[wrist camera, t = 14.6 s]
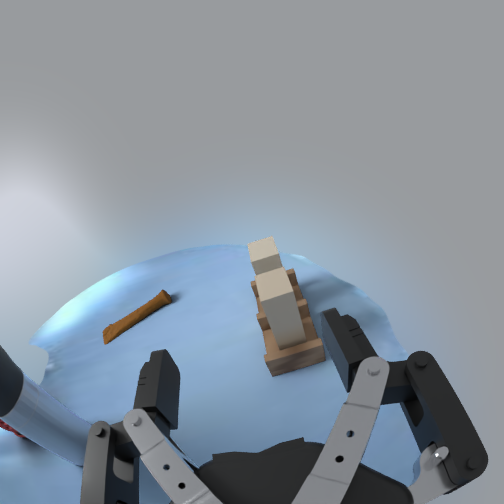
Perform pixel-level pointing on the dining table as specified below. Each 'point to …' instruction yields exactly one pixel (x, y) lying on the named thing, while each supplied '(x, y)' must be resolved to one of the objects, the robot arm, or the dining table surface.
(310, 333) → the rack
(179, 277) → the dining table surface
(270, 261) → the tall square post
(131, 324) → the primitive tool
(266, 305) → the beige rectangular block
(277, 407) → the dining table surface
